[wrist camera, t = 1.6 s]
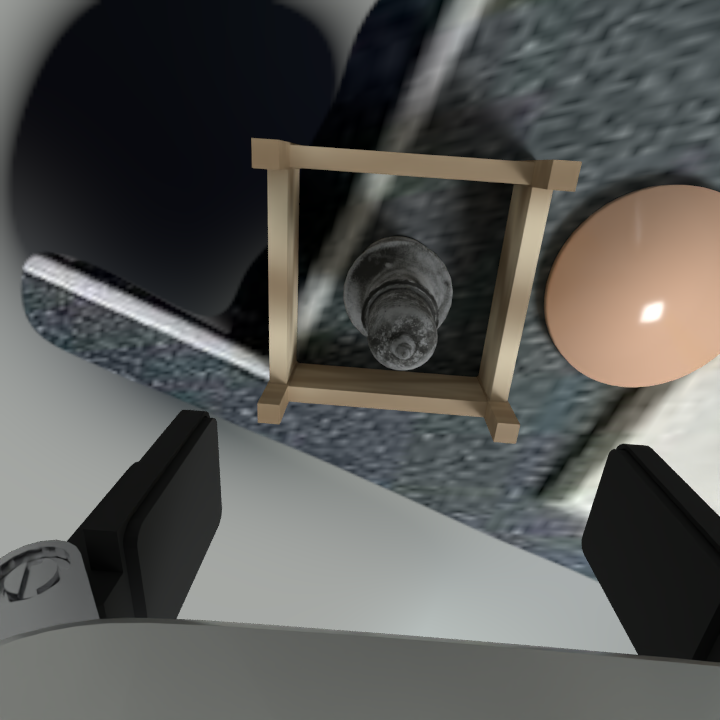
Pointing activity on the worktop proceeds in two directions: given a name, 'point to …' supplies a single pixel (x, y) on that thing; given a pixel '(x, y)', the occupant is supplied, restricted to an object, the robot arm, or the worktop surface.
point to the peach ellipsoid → (640, 287)
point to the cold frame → (403, 387)
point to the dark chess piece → (398, 300)
